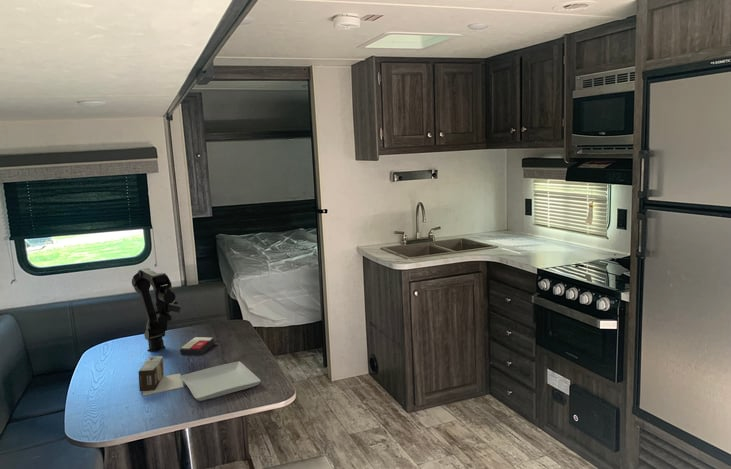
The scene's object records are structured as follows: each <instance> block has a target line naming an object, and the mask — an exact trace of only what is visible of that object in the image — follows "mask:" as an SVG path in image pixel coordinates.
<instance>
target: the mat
mask: <svg viewBox="0 0 731 469" xmlns="http://www.w3.org/2000/svg"><path fill="white" fill-rule="evenodd" d="M179 376H182V375H181V373H180V372H179V373H175V374H169V375H164V376H163V377H162V379H161V381H160V382H159V384H158V386H157V387H156V389H155V390H150V391H142V396H143V397H145V396H149V395H154V394H159V393H163V392H167V391H172V390H177V389H183V388H184V387H185V386H184V382H183V381H182V380H181V379H180V377H179Z"/></svg>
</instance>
